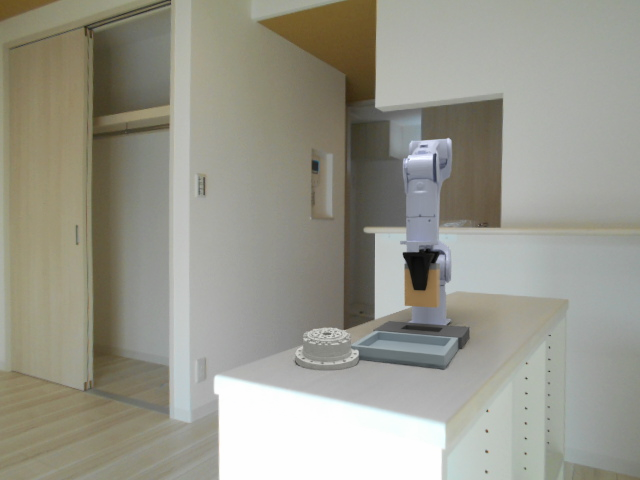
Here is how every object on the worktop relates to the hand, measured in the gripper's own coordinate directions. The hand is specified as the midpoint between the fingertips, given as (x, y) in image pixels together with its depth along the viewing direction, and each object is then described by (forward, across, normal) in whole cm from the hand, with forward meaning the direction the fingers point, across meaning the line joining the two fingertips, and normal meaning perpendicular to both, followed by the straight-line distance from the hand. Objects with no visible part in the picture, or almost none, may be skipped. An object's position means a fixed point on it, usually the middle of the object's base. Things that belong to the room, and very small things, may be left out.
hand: (421, 289), depth 87 cm
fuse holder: (+10, 0, 0) cm, 10 cm away
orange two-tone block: (+3, 0, 0) cm, 3 cm away
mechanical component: (+10, +21, -10) cm, 25 cm away
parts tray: (+9, +12, 0) cm, 15 cm away
